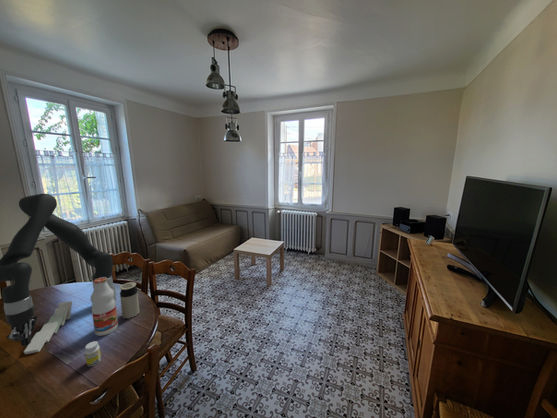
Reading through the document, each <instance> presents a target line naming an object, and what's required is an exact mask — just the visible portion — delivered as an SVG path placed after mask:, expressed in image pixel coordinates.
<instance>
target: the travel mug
mask: <svg viewBox="0 0 557 418" xmlns="http://www.w3.org/2000/svg"><path fill="white" fill-rule="evenodd" d="M136 285H137V283H136V282H134V281H133V282H132V281H130V282H126V283H123V284H121V285H120V286H119V290H120V292H119V295H120V296H119V297H120V304H121V314H122V315H121V316H122V318H123V319H125V318H128V319H132V318H134V316H135V317H136V316H138V315H139V314H140V303H139V294H138V288H137V286H136ZM138 313H139V314H138ZM137 314H138V315H137ZM131 317H132V318H131Z"/></svg>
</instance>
